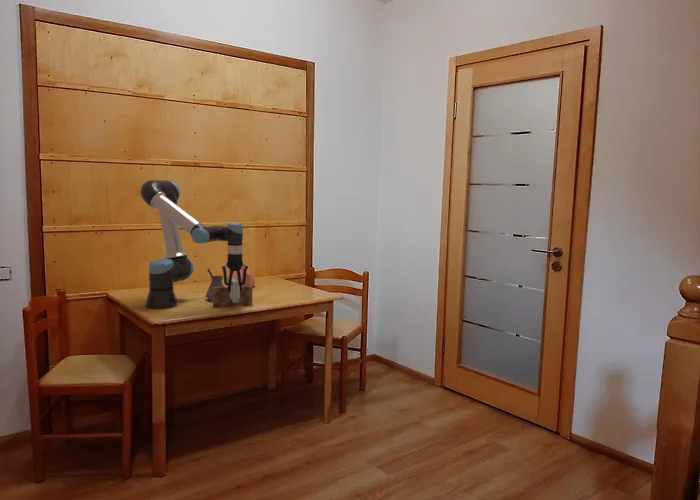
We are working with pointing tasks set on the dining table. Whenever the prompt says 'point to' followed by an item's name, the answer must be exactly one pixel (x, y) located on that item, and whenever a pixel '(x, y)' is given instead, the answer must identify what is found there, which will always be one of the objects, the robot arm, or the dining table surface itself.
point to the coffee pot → (214, 285)
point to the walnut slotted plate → (223, 298)
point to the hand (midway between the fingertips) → (234, 298)
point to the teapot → (249, 277)
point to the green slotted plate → (234, 290)
